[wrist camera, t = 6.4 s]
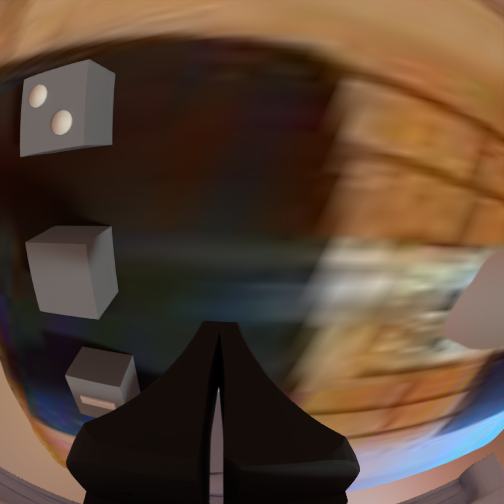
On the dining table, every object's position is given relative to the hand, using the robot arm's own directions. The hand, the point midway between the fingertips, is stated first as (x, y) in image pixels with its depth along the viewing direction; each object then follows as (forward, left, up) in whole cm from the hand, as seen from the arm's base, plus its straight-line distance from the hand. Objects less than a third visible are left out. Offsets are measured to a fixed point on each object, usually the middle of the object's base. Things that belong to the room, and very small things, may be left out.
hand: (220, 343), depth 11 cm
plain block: (+3, +10, -10) cm, 14 cm away
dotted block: (+13, +6, -10) cm, 17 cm away
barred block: (-7, +14, -10) cm, 18 cm away
